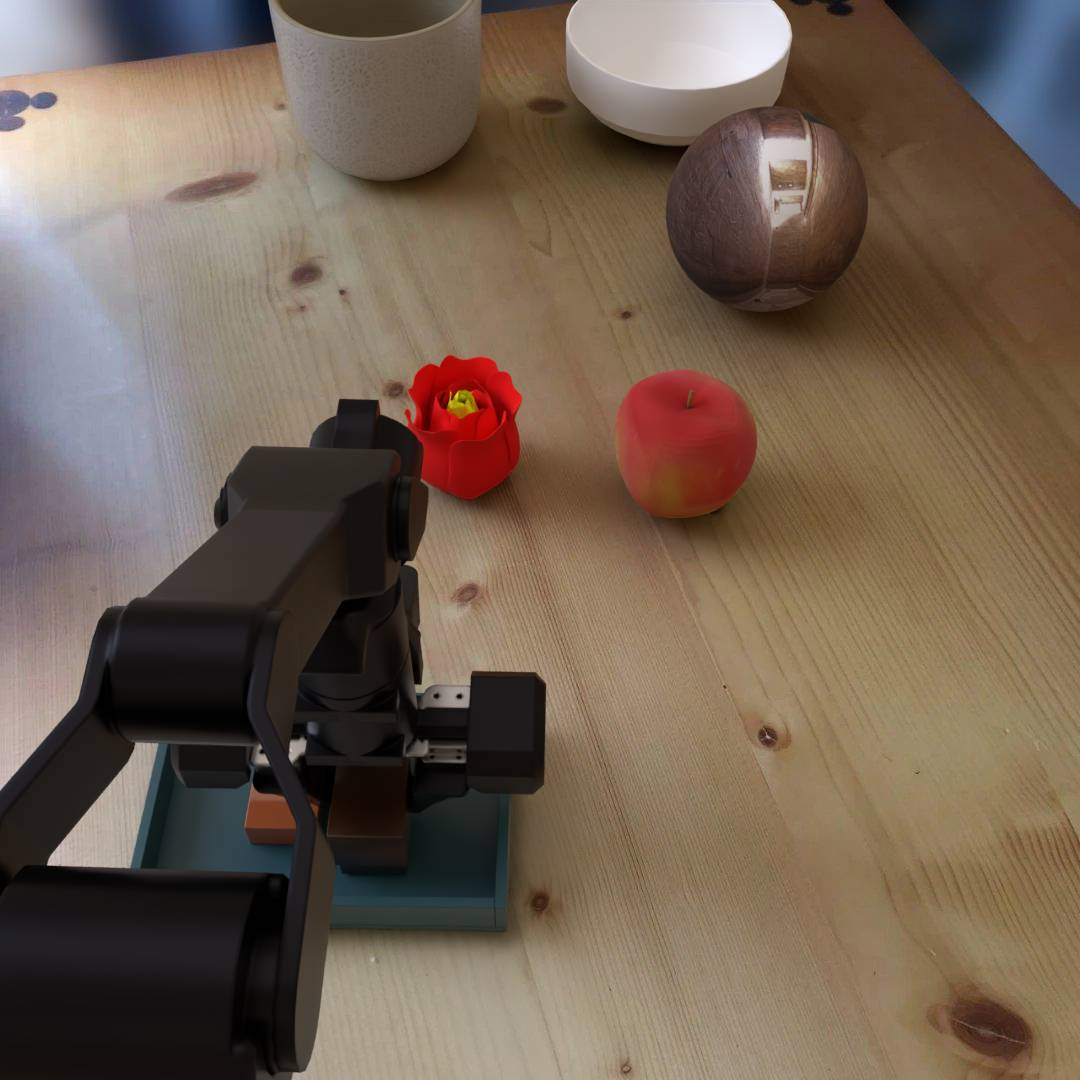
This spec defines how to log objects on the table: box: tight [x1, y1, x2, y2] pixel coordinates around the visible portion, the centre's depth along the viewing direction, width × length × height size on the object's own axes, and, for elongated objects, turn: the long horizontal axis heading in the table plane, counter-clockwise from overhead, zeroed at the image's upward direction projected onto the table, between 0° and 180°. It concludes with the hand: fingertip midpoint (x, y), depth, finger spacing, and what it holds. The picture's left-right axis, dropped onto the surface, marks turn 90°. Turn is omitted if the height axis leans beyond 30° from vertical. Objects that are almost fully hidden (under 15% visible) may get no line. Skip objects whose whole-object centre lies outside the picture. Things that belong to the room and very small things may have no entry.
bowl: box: [565, 0, 793, 147], centre depth 116 cm, size 20×20×8 cm
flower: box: [404, 354, 523, 500], centre depth 88 cm, size 8×8×8 cm
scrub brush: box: [327, 757, 415, 875], centre depth 72 cm, size 4×8×5 cm, turn 179°
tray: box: [129, 692, 512, 932], centre depth 74 cm, size 20×13×3 cm, turn 89°
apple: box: [613, 369, 758, 519], centre depth 86 cm, size 10×10×10 cm
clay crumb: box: [244, 768, 325, 844], centre depth 74 cm, size 4×4×2 cm
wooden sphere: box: [665, 105, 869, 313], centre depth 98 cm, size 15×15×15 cm
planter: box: [267, 0, 483, 182], centre depth 110 cm, size 17×17×15 cm
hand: (379, 804), depth 74 cm, fingers closed on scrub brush, 4 cm apart
